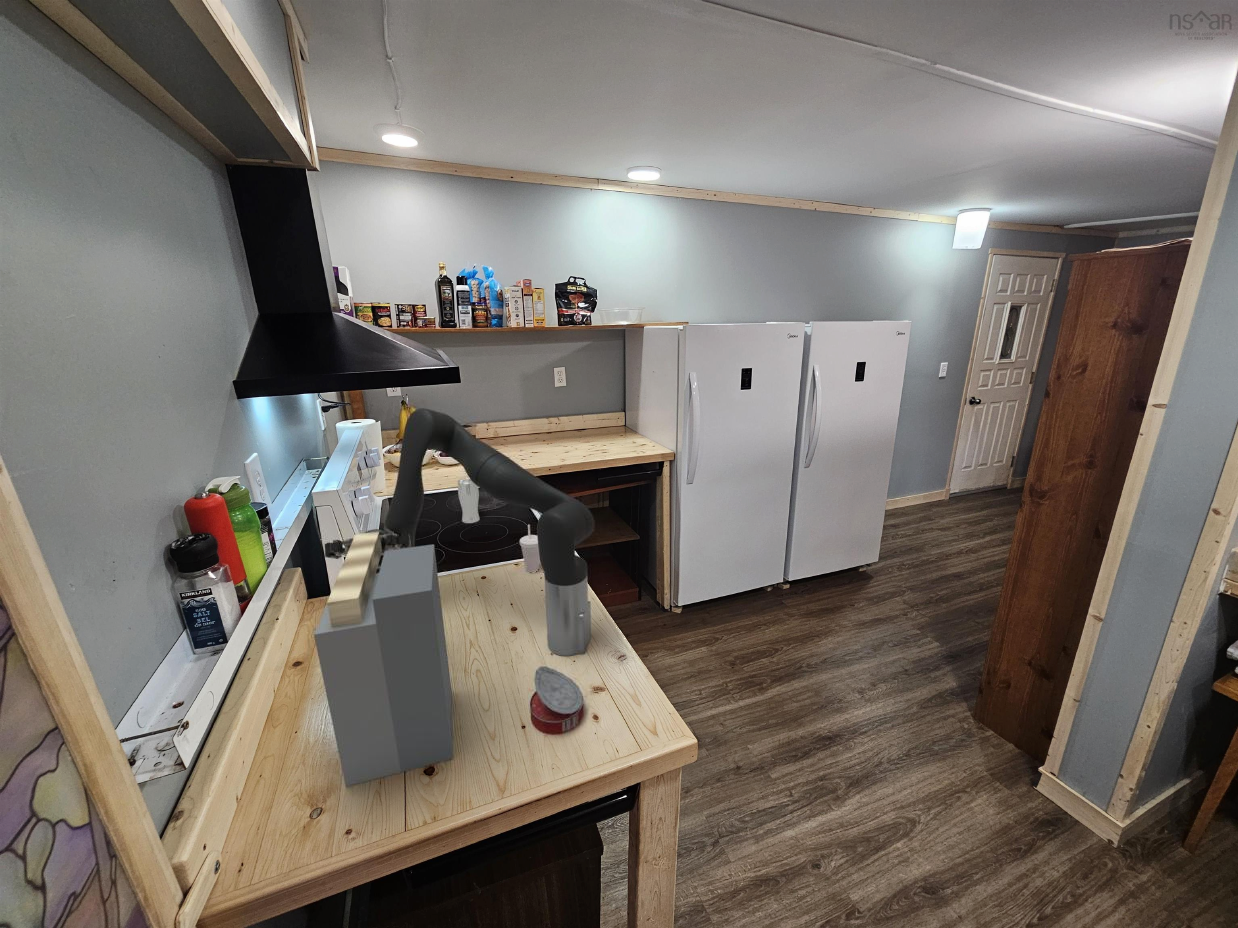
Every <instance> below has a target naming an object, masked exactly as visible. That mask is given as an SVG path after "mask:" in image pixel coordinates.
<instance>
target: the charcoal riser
mask: <svg viewBox="0 0 1238 928" xmlns="http://www.w3.org/2000/svg"><path fill="white" fill-rule="evenodd" d="M435 549H436V548H435V544H427V545H419V546H415V547H411V548H403V549H396V550H388V551H385V552H384V556H383V560H382V564H381V568H379V572H376V574H375V578H374V582H373V585H372V589H371V592H370V596H369V600H368V603H367V607H366V611H365V614H364V618H363V621H362V622H359V623H353V624H348V625H342V626H336V627H331V622H330V617H329V611H328V606H327V603H326V605H325V607H324V608H323V612H322V613H321V615H320V616H321V617H320V619H319V621H318V623H317V626H316V627H315V628H316V629H315V631H314V633H313V637H314V642H315V647H316V651H317V655H318V661H319V665H320V671H321V674H322V679H323V684H324V689H325V693H326V694H325V695H326V698H327V705H328V709H329V713H330V718H331V724H332V726H333V727H332V728H333V731H334V737H335V741H336V747H337V750H338V751H337V752H338V756H339V761H340V767H341V770H342V776H343V780H344V784H345V787H346V788H347V787H350V786H355V785H359V784H361V783H366V782H370V781H374V780H377V779H380V778H381V779H382V778H385V777H388V776H392V775H393V776H394V775H396V774H399V773H403V772H407V771H411V770H416V769H420V768H423V767H427V766H431V765H434V764H437V763H441V762H445V761H450V760H453V759H454V757H453V756H454V755H453V752H454V751H453V700H452V699H453V693H452V684H451V683H452V682H451V675H450V667H449V657H448V651H447V650H448V649H447V642H446V640H447V639H446V634H445V632H446V631H445V625H444V618H443V617H444V614H443V609H442V599H441V592H440V591H441V590H440V583H439V576H438V567H437V565H438V564H437V558H436V551H435Z"/></svg>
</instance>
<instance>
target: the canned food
mask: <svg viewBox="0 0 1238 928" xmlns="http://www.w3.org/2000/svg"><path fill="white" fill-rule="evenodd" d="M534 686H535V687H534V688H535V691H534V692H533V694H532V696H531V697H530V700H529V711H530V722H531V724H532V726H533V727H534V729H536V730H537V731H538V732H540V733H543V734H546V735H554V736H557V735H558V736H559V735H564V734H566V733H568V732H570V731H571V732H572V730H574V729H575V728H576V727H578V725H580V723H581V722H582V719H583V717H584V696H583V693H582V691H581V689H580V687H579V685H578V684H576V682H575V681H574V680H573V679H572V678H570V677H568V676H567V675H565V674H564V673H562V672H560V671H558V670H556V669H554V668H550V667H548V666H544V665H543V666H540V667H538V668H537V669H536V670H535V673H534Z"/></svg>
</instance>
